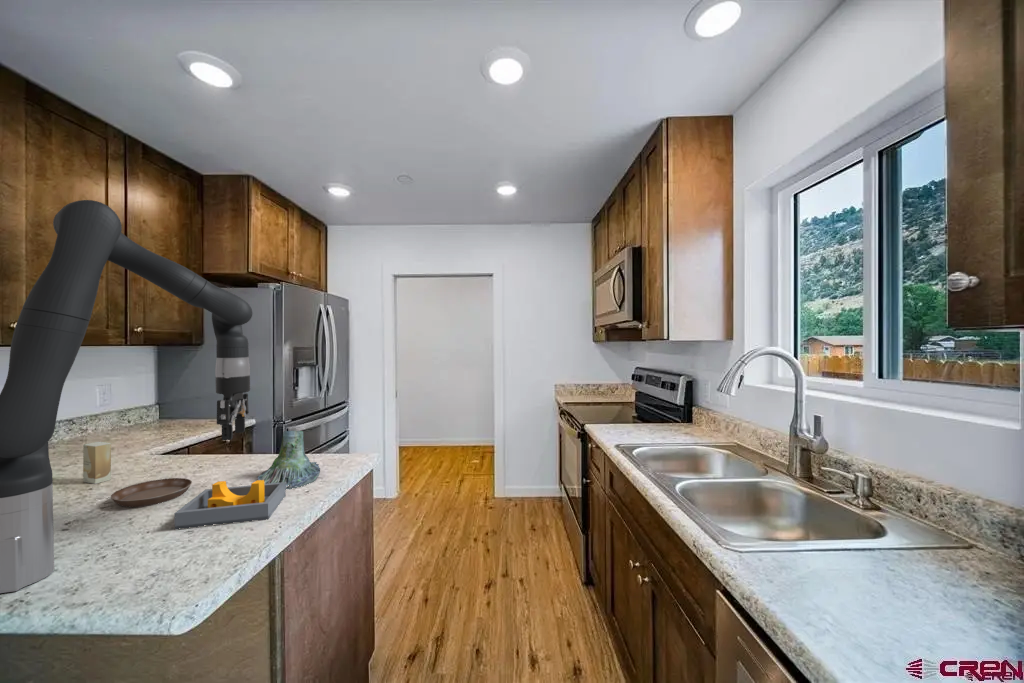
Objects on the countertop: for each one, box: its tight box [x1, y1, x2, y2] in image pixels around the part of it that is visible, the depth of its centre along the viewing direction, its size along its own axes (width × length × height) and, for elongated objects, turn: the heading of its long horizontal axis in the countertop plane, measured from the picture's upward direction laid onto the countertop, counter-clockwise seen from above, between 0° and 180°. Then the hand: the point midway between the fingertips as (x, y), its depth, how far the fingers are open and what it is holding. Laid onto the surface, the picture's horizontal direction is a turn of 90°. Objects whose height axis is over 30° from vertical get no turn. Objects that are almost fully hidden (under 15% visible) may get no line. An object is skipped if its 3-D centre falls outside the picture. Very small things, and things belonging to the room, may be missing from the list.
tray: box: [174, 482, 287, 530], centre depth 108 cm, size 16×20×4 cm
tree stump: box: [257, 430, 321, 490], centre depth 134 cm, size 18×20×18 cm
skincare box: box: [82, 441, 112, 484], centre depth 133 cm, size 6×4×12 cm
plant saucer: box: [110, 477, 193, 508], centre depth 119 cm, size 18×18×3 cm
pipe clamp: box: [208, 479, 265, 508], centre depth 109 cm, size 12×4×6 cm, turn 93°
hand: (233, 436), depth 108 cm, fingers open, 8 cm apart
